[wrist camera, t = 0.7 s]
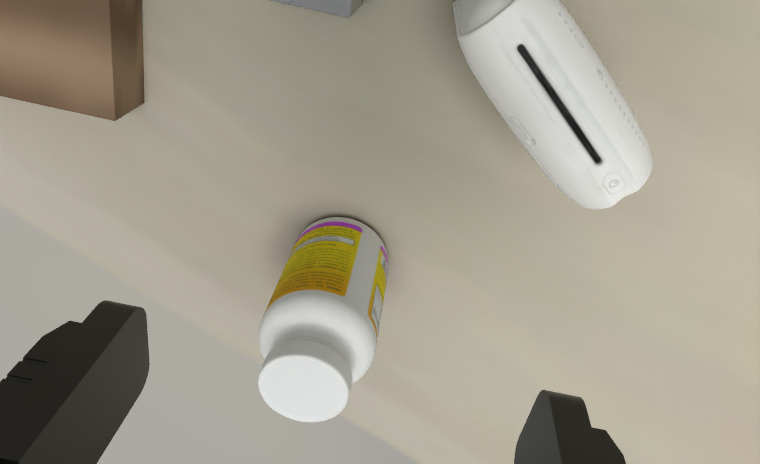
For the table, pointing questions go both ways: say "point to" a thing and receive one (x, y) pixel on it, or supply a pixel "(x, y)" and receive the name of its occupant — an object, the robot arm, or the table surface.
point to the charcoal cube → (327, 5)
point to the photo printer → (555, 97)
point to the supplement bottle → (323, 319)
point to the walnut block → (73, 54)
